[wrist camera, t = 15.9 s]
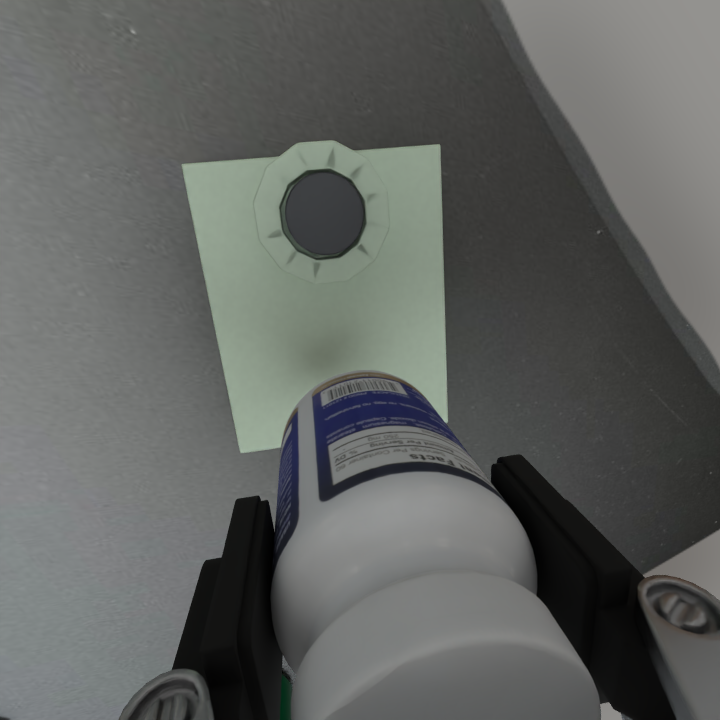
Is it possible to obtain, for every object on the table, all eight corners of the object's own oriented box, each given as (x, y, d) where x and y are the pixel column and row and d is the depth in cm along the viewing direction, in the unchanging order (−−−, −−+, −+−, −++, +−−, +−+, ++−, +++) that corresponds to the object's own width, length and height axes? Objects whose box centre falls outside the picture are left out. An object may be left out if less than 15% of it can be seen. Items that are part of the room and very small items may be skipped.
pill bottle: (367, 528, 17) (452, 922, 7) (249, 451, 15) (158, 833, 5) (466, 424, 16) (710, 715, 6) (353, 332, 14) (456, 536, 5)
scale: (189, 163, 22) (169, 151, 18) (429, 145, 23) (451, 131, 20) (244, 439, 27) (236, 468, 23) (439, 410, 28) (457, 434, 25)
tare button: (281, 179, 20) (279, 174, 18) (355, 173, 20) (360, 168, 18) (291, 256, 21) (291, 259, 19) (362, 249, 21) (367, 251, 20)
